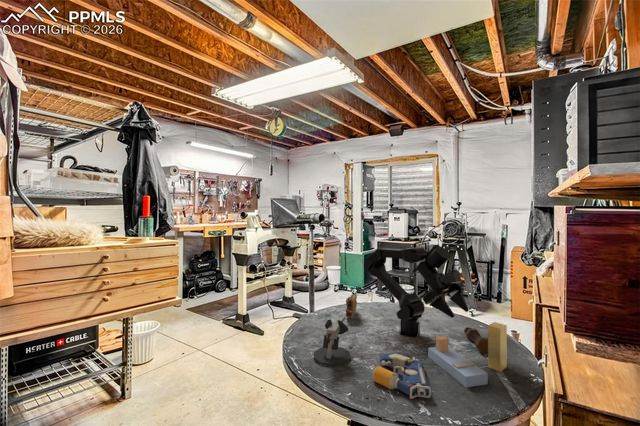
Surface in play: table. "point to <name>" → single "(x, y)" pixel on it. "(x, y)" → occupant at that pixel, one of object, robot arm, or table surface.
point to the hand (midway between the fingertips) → (460, 314)
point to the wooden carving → (351, 305)
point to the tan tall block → (497, 346)
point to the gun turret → (333, 346)
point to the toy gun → (403, 375)
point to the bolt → (477, 340)
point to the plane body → (456, 364)
